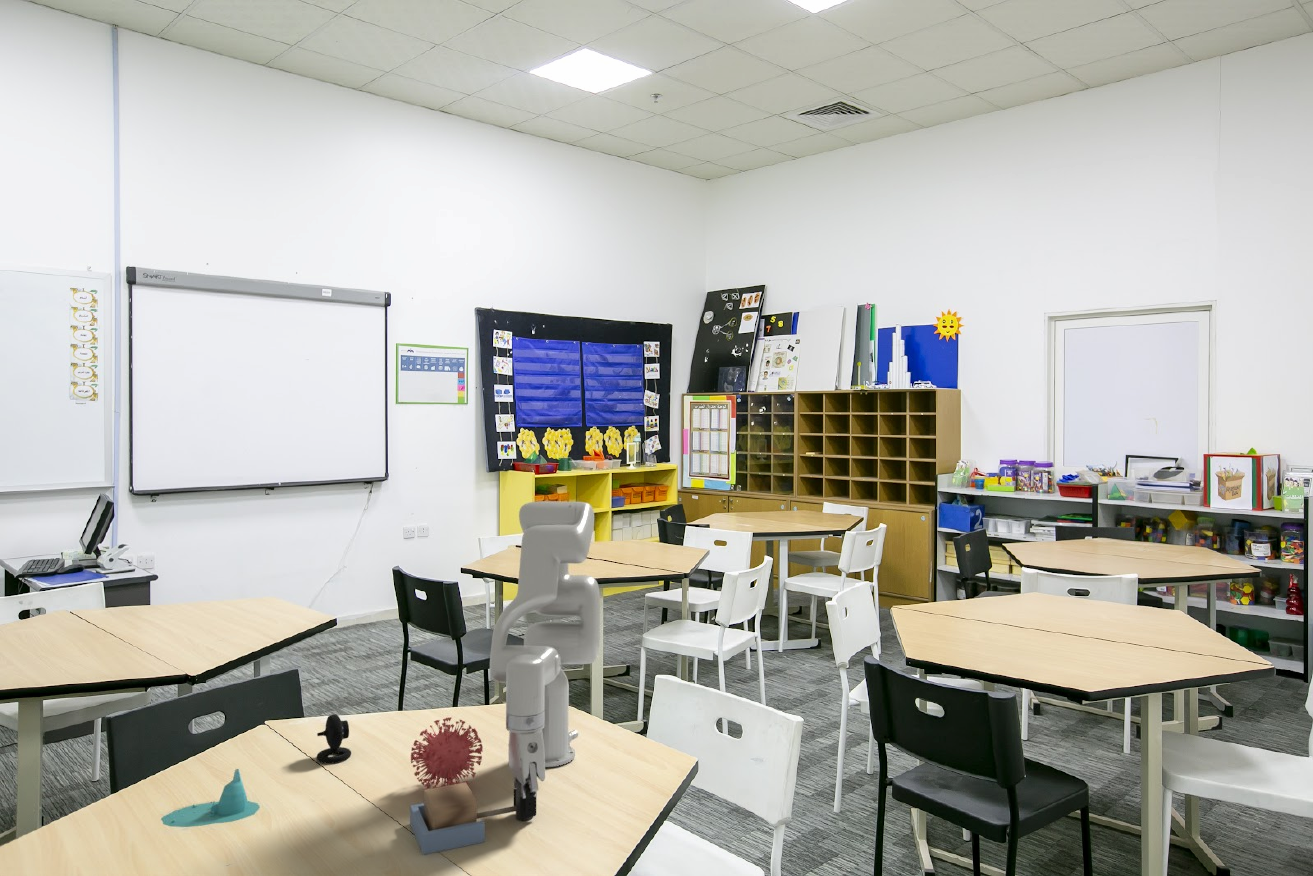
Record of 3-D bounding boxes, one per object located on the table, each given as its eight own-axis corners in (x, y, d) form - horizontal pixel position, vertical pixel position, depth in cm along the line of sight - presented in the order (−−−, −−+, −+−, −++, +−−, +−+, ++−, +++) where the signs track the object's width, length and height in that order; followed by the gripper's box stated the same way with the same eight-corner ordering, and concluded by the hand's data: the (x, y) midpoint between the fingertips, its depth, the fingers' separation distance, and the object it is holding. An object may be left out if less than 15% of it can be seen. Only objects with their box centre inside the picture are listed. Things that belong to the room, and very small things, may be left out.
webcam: (354, 760, 194) (355, 716, 194) (321, 767, 190) (321, 722, 190) (346, 749, 201) (346, 707, 201) (313, 756, 197) (313, 713, 197)
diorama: (163, 807, 170) (163, 765, 170) (270, 797, 175) (271, 755, 175) (144, 835, 158) (144, 789, 158) (259, 822, 163) (259, 778, 163)
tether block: (433, 846, 154) (433, 808, 154) (424, 826, 162) (424, 789, 162) (539, 824, 162) (539, 788, 162) (526, 806, 170) (526, 771, 170)
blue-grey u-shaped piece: (422, 854, 151) (422, 835, 151) (410, 823, 163) (410, 805, 163) (484, 842, 155) (484, 823, 155) (467, 812, 168) (468, 795, 168)
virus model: (495, 781, 183) (495, 712, 183) (457, 809, 169) (457, 735, 169) (436, 771, 188) (437, 705, 188) (395, 798, 174) (396, 726, 174)
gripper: (557, 730, 160) (556, 826, 160) (531, 704, 175) (530, 793, 175) (518, 736, 157) (518, 834, 157) (495, 709, 171) (495, 799, 171)
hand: (524, 811), depth 166 cm, fingers closed on tether block, 3 cm apart
